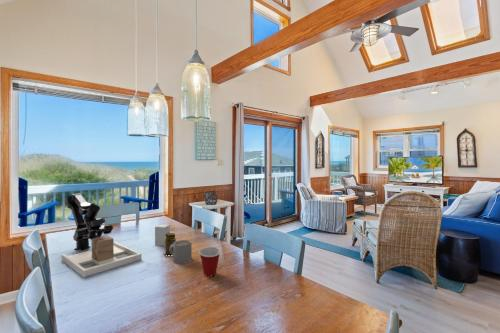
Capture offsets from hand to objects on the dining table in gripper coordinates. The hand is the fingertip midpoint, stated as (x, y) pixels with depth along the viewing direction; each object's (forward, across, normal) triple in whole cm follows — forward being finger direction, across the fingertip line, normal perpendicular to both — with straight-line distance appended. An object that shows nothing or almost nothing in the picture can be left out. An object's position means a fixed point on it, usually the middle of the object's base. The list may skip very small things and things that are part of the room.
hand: (99, 244), depth 145 cm
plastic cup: (+53, +26, -39) cm, 71 cm away
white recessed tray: (+8, 0, +3) cm, 9 cm away
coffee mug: (+33, +29, -20) cm, 48 cm away
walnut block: (+8, 0, +2) cm, 8 cm away
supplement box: (+10, +37, +2) cm, 39 cm away
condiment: (+25, +30, -12) cm, 41 cm away
